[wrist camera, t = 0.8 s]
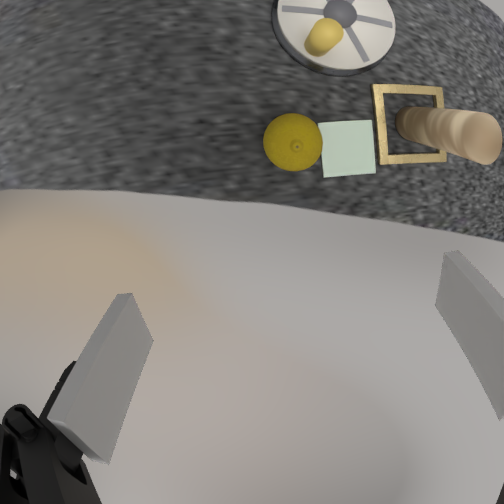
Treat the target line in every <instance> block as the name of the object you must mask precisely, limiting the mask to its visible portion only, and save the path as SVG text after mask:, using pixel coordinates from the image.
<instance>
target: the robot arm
mask: <svg viewBox="0 0 504 504" xmlns="http://www.w3.org/2000/svg"><path fill="white" fill-rule="evenodd" d="M435 306H436V308H437V309H438V311H439V312H440V314H441V316H442V317H443V319H444V320H445V322H446V324H447V325H448V327H449V328H450V330H451V332H452V333H453V335H454V337H455V338H456V340H457V341H458V343H459V345H460V346H461V348H462V350H463V352H464V353H465V355H466V357H467V359H468V360H469V362H470V364H471V366H472V367H473V369H474V371H475V373H476V375H477V377H478V378H479V380H480V382H481V384H482V386H483V388H484V390H485V392H486V394H487V396H488V398H489V400H490V402H491V404H492V406H493V408H494V410H495V412H496V414H497V417H498V419H499V421H501V420H503V419H504V298H503V297H502V296H501V295H500V294H499V293H498V291H497V290H496V289H495V288H494V287H493V286H492V285H491V284H490V283H489V281H488V280H487V279H485V277H484V276H483V275H482V274H481V273H480V272H479V271H478V270H477V269H476V268H475V267H474V266H473V265H472V264H471V262H470V261H469V260H468V259H466V257H465V256H464V255H463V254H462V253H461V252H460V251H458V250H457V251H451V252H446V253H444V258H443V265H442V272H441V277H440V283H439V288H438V293H437V299H436V304H435ZM152 343H153V338H152V336H151V334H150V332H149V330H148V328H147V326H146V323H145V321H144V319H143V317H142V315H141V312H140V310H139V308H138V306H137V303H136V301H135V299H134V296H133V294H132V293H127V294H118V295H117V296H116V297H115V299H114V300H113V302H112V304H111V305H110V307H109V308H108V310H107V312H106V313H105V315H104V316H103V318H102V320H101V321H100V323H99V324H98V326H97V328H96V329H95V331H94V333H93V334H92V336H91V338H90V339H89V341H88V343H87V345H86V346H85V348H84V350H83V351H82V353H81V355H80V357H79V358H78V360H77V361H73V362H72V363H71V364H70V365H69V366H68V367H67V368H66V369H65V370H64V372H63V374H62V376H61V378H60V379H59V382H58V383H57V385H56V386H55V390H53V392H52V394H51V395H50V397H49V399H48V401H47V403H46V405H45V407H44V409H43V411H42V413H41V415H40V417H39V418H37V417H36V416H35V415H34V414H33V413H32V411H31V410H30V409H29V408H28V407H27V406H25V405H23V404H17V405H14V406H13V407H11V408H10V409H9V410H8V411H7V412H6V413H5V416H4V417H3V420H2V425H1V424H0V504H102V503H101V501H100V498H99V497H98V494H97V492H96V489H95V487H94V485H93V482H92V480H91V477H90V475H89V472H88V470H87V467H86V465H85V463H84V462H83V460H82V459H81V458H82V455H83V453H84V454H85V455H86V456H87V457H89V458H90V459H91V460H92V461H95V462H100V463H104V464H108V465H109V463H110V460H111V457H112V454H113V450H114V448H115V445H116V441H117V439H118V435H119V433H120V430H121V427H122V424H123V421H124V418H125V416H126V413H127V410H128V407H129V404H130V401H131V399H132V396H133V393H134V391H135V388H136V385H137V382H138V380H139V376H140V374H141V372H142V369H143V367H144V364H145V361H146V358H147V356H148V354H149V351H150V349H151V346H152ZM10 469H11V470H13V471H14V472H15V473H16V474H17V477H16V479H14V478H13V477H11V476H10ZM496 504H504V484H503V487H502V490H501V492H500V495H499V498H498V500H497V503H496Z"/></svg>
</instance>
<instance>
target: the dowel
mask: <svg viewBox="0 0 504 504" xmlns="http://www.w3.org/2000/svg"><path fill="white" fill-rule="evenodd" d="M395 126H396V129H397V131H398V133H399V134H400V136H402V137H403V138H404V139H406V140H410V141H413V142H417V143H420V144H424V145H427V146H430V147H434V148H437V149H440V150H443V151H446V152H449V153H452V154H455V155H458V156H461V157H464V158H467V159H470V160H472V161H475V162H478V163H480V164H485V165H486V164H490V163H492V162H494V161H495V160H496V159H497V157H498V156H499V154H500V151H501V148H502V133H501V129H500V127H499V124H498V123H497V121H496V120H495V119H494V117H492V116H491V115H490V114H487V113H482V112H474V111H466V110H456V109H444V108H430V107H410V106H408V107H404V108H402V109H400V110H399V111H398V113H397V115H396V118H395Z"/></svg>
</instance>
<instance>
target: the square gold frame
mask: <svg viewBox="0 0 504 504" xmlns="http://www.w3.org/2000/svg"><path fill="white" fill-rule="evenodd" d="M371 93H372V101H373V109H374V119H375V129H376V141H377V155H378V164H380V165H383V164H400V163H423V162H446V151H443V150H440V149H437V148H436V151H437V153H402V154H388V146H387V132H386V121H385V110H384V101H383V93H399V94H424V95H433V102H434V108H444V101H443V92H442V87H432V86H418V85H397V84H371Z"/></svg>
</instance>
